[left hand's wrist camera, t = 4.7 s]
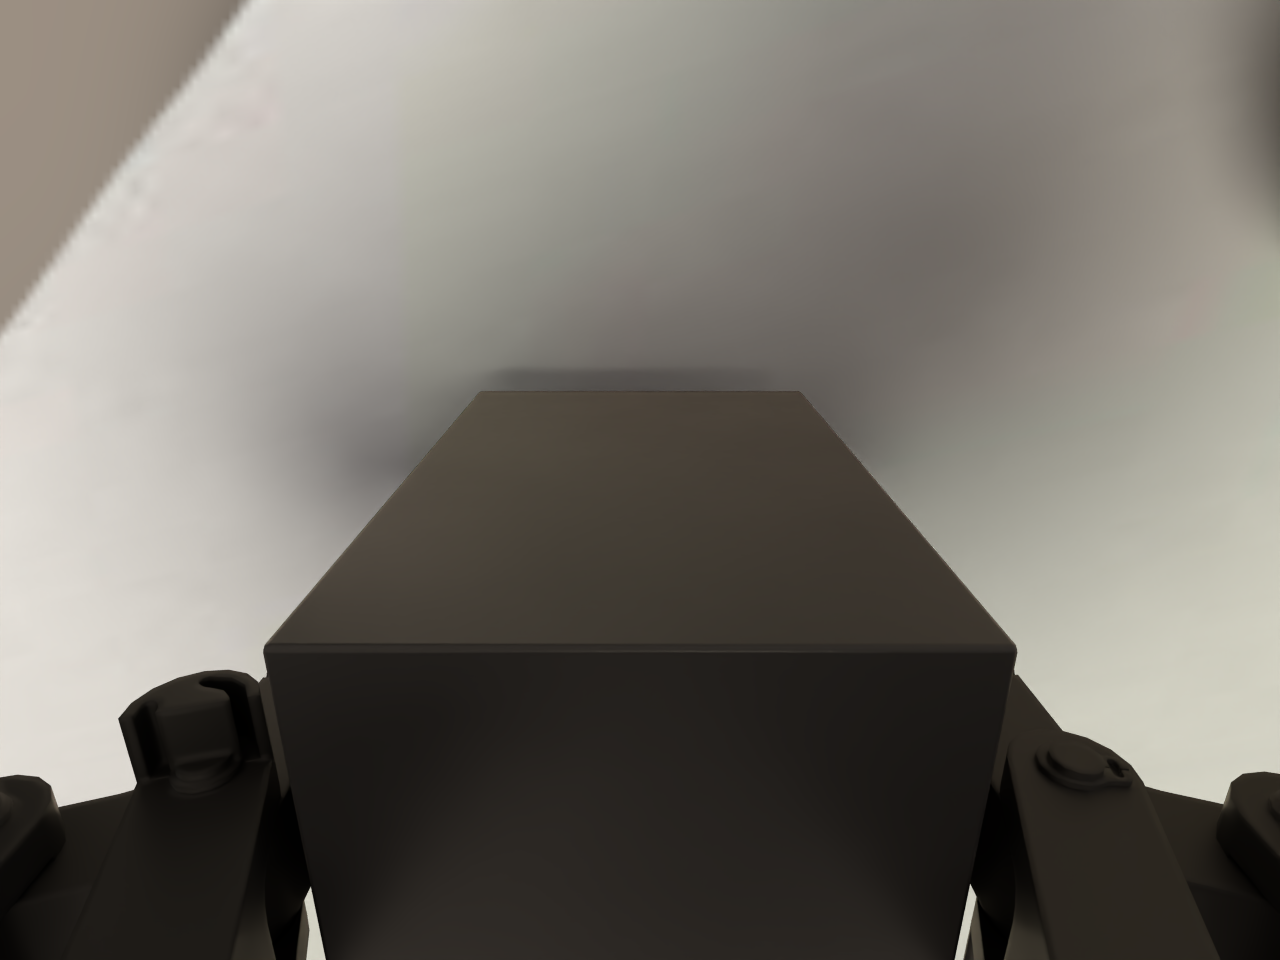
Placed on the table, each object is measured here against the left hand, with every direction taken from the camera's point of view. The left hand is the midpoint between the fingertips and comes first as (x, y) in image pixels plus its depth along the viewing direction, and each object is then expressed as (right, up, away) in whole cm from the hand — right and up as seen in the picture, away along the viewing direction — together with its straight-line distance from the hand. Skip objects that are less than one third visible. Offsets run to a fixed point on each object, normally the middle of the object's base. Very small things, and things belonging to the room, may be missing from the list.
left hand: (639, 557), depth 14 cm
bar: (0, -8, +4) cm, 9 cm away
